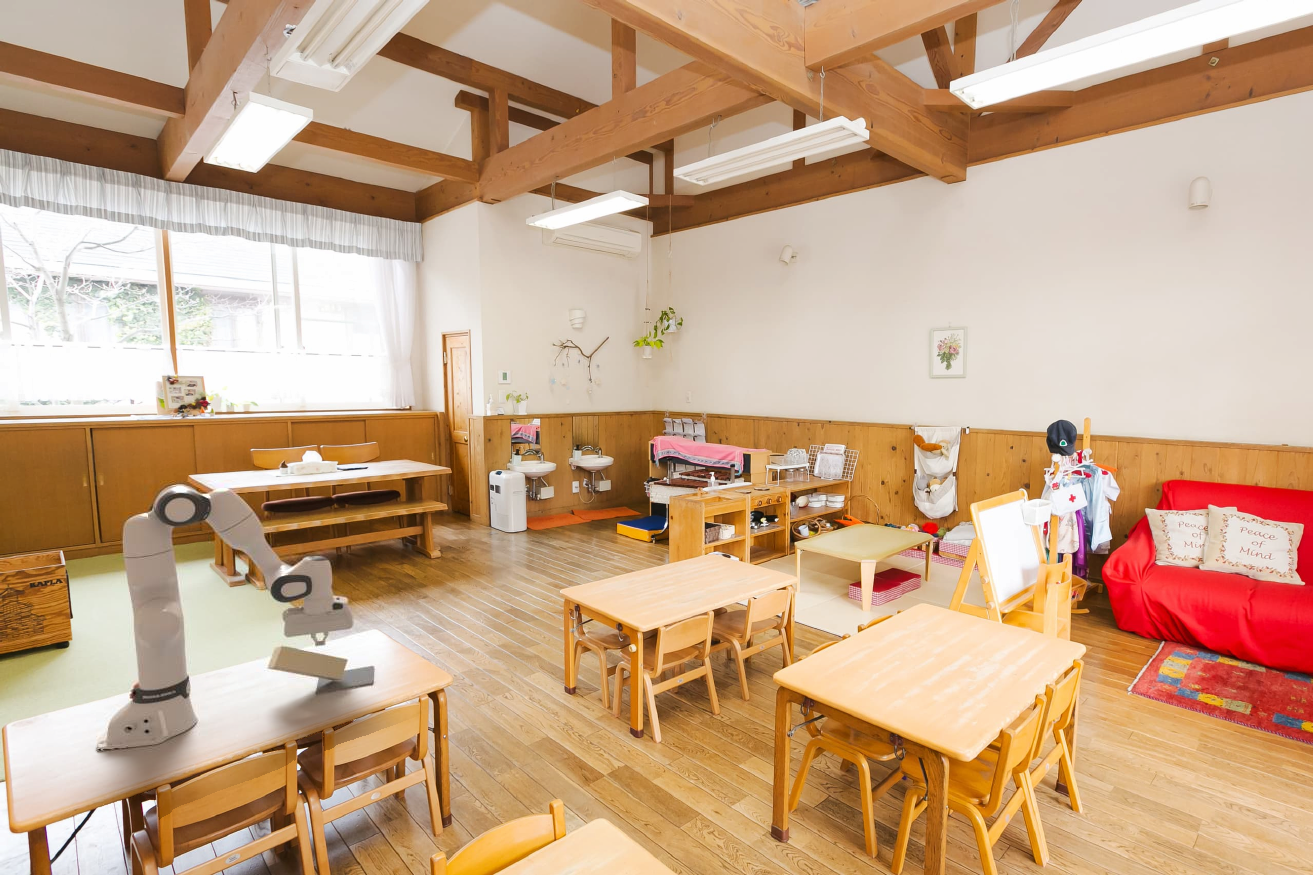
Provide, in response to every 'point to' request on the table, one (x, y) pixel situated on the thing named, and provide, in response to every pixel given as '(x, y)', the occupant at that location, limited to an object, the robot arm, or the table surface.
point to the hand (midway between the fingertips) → (320, 645)
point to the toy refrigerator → (307, 663)
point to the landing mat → (347, 680)
